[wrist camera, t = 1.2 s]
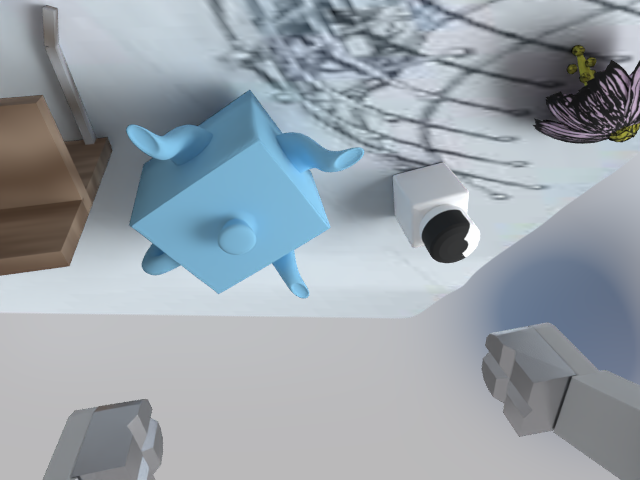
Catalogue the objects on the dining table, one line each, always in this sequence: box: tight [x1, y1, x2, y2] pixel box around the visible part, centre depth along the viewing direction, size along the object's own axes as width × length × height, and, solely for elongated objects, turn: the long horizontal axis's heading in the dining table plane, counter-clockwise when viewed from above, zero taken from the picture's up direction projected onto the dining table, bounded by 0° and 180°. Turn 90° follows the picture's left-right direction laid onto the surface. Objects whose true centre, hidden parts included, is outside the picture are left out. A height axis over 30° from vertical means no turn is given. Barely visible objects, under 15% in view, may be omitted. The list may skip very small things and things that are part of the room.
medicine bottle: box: [393, 163, 480, 263], centre depth 51 cm, size 7×7×12 cm
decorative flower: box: [533, 45, 640, 144], centre depth 46 cm, size 15×12×15 cm
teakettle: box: [126, 90, 364, 298], centre depth 42 cm, size 19×19×15 cm
